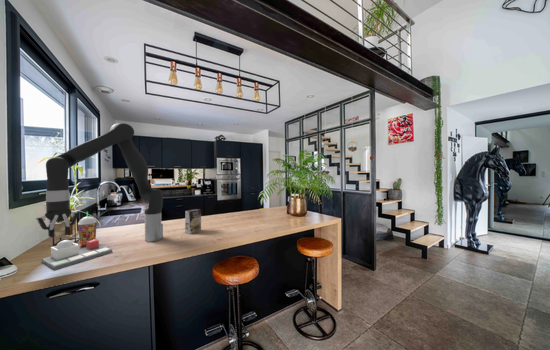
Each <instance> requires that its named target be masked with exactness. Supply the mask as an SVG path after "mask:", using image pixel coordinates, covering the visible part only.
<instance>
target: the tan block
mask: <svg viewBox="0 0 550 350" xmlns="http://www.w3.org/2000/svg"><path fill="white" fill-rule="evenodd" d="M53 230H54V238H62V237H65V236H66V235H65V223H63V222H62V221H61V222H56V223H55V225H54V228H53ZM54 238H53V239H54Z"/></svg>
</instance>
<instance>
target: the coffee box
mask: <svg viewBox="0 0 550 350" xmlns="http://www.w3.org/2000/svg"><path fill="white" fill-rule="evenodd" d="M184 213H185V214H184V215H185V217H184V218H185V219H184V221H185V222H184V223H185V224H184V229H185V230H184V231H185V233H186V234H188V235H192V234H195V233H200V232H201V231H202V209H200V208H198V209H197V208H195V209H188V210H185V212H184Z"/></svg>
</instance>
